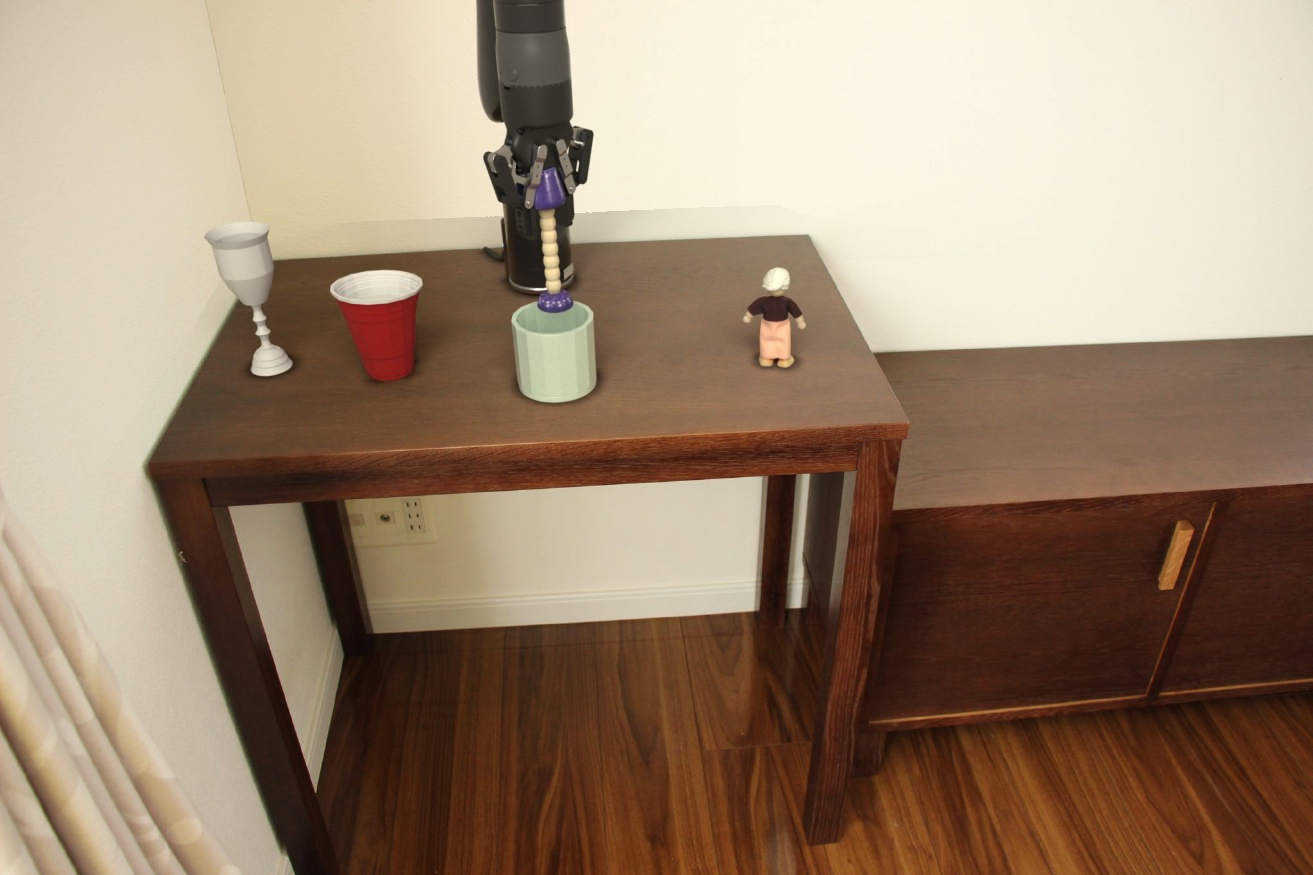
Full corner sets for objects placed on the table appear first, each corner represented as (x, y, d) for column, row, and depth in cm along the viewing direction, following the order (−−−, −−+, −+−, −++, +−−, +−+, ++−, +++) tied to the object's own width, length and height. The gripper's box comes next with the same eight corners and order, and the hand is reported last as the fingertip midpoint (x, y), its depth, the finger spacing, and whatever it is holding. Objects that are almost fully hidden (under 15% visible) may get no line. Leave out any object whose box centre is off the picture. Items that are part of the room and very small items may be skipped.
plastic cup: (451, 356, 127) (438, 269, 121) (406, 396, 119) (391, 306, 112) (378, 344, 130) (362, 259, 124) (330, 383, 122) (310, 294, 115)
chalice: (245, 384, 122) (207, 247, 112) (237, 361, 127) (200, 228, 117) (306, 370, 125) (274, 235, 115) (296, 348, 130) (264, 217, 120)
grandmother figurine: (800, 354, 127) (807, 262, 120) (803, 368, 124) (811, 275, 117) (740, 354, 127) (744, 262, 120) (742, 369, 124) (746, 275, 117)
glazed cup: (502, 383, 121) (495, 317, 116) (561, 356, 127) (556, 292, 122) (554, 411, 116) (548, 343, 111) (612, 381, 121) (610, 315, 116)
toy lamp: (566, 316, 113) (557, 174, 104) (527, 313, 114) (515, 172, 105) (577, 299, 117) (569, 160, 108) (539, 296, 118) (528, 158, 109)
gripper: (562, 56, 108) (571, 207, 117) (455, 81, 99) (475, 241, 109) (610, 67, 103) (615, 222, 113) (503, 93, 95) (518, 259, 104)
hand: (546, 230), depth 111 cm, fingers closed on toy lamp, 4 cm apart
